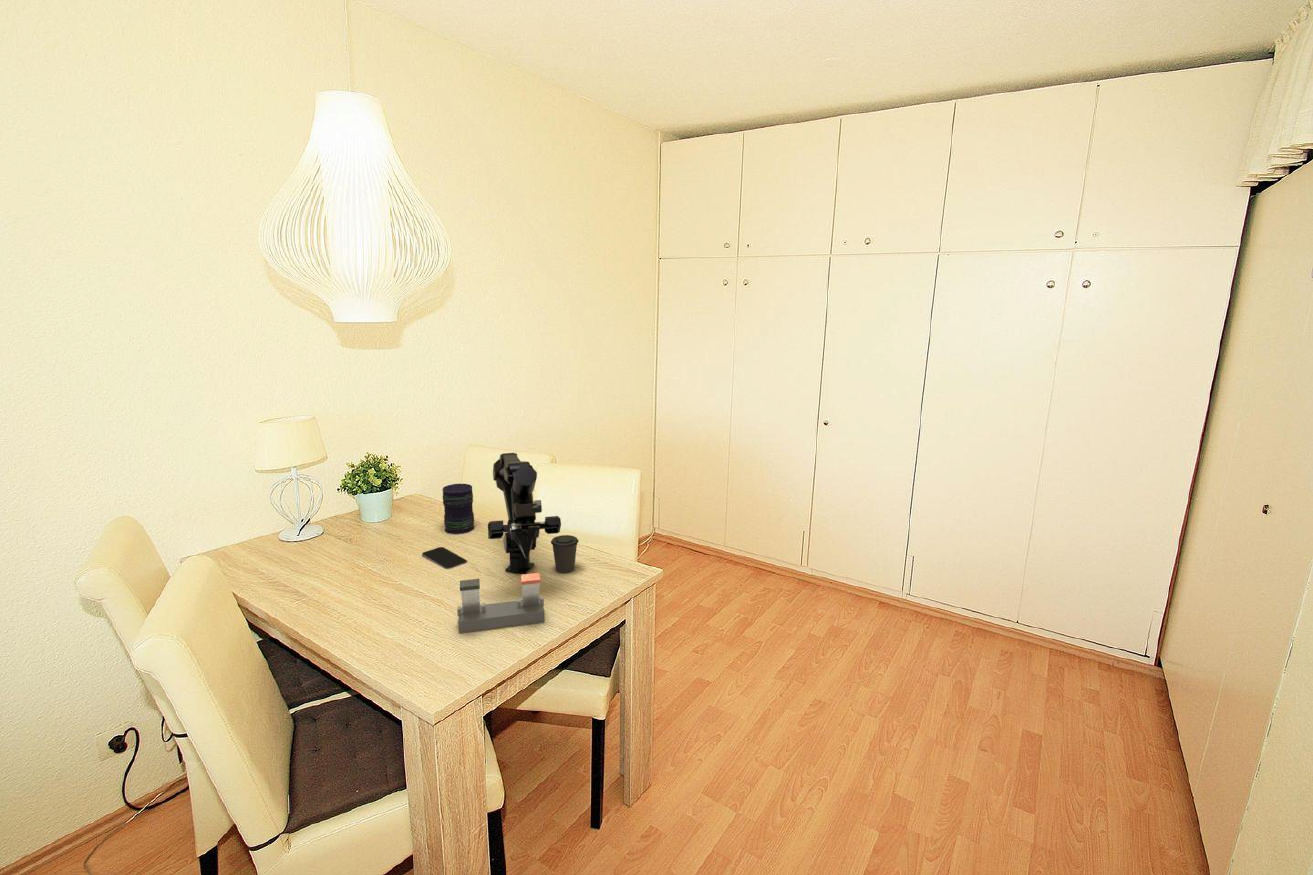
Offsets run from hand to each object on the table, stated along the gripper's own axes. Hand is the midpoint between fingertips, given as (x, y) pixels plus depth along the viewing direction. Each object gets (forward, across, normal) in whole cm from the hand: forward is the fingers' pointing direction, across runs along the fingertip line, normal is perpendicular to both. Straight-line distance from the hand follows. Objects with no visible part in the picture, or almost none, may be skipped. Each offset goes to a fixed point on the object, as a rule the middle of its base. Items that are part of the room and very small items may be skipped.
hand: (526, 557), depth 150 cm
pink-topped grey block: (+12, 0, +1) cm, 12 cm away
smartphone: (-14, -22, +33) cm, 42 cm away
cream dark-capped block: (+12, -14, +1) cm, 18 cm away
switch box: (+14, -7, +3) cm, 16 cm away
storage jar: (-32, -19, +50) cm, 62 cm away
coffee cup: (-3, +12, +21) cm, 24 cm away
